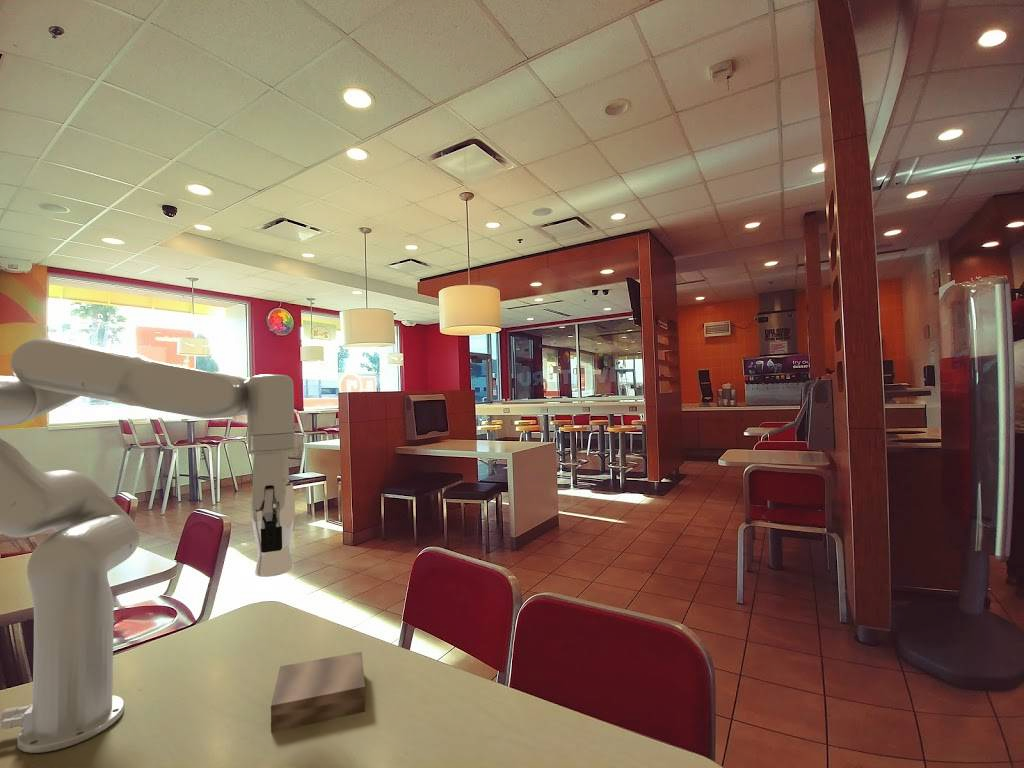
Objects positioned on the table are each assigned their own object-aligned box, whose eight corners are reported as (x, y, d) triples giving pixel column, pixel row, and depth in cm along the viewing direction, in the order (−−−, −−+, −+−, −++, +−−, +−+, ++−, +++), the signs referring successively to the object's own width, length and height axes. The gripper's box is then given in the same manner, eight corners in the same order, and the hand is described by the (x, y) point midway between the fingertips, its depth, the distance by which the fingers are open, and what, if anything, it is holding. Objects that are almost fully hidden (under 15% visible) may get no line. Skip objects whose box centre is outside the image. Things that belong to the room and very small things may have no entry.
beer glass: (303, 564, 88) (301, 481, 89) (282, 577, 81) (280, 488, 82) (267, 564, 89) (265, 482, 90) (243, 578, 82) (241, 489, 83)
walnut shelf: (270, 732, 75) (271, 705, 75) (280, 689, 86) (280, 666, 86) (365, 711, 80) (364, 686, 80) (361, 673, 91) (361, 651, 91)
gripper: (255, 442, 93) (257, 536, 92) (239, 449, 77) (241, 563, 76) (297, 439, 95) (300, 531, 95) (291, 446, 79) (293, 556, 79)
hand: (274, 544), depth 85 cm, fingers closed on beer glass, 6 cm apart
